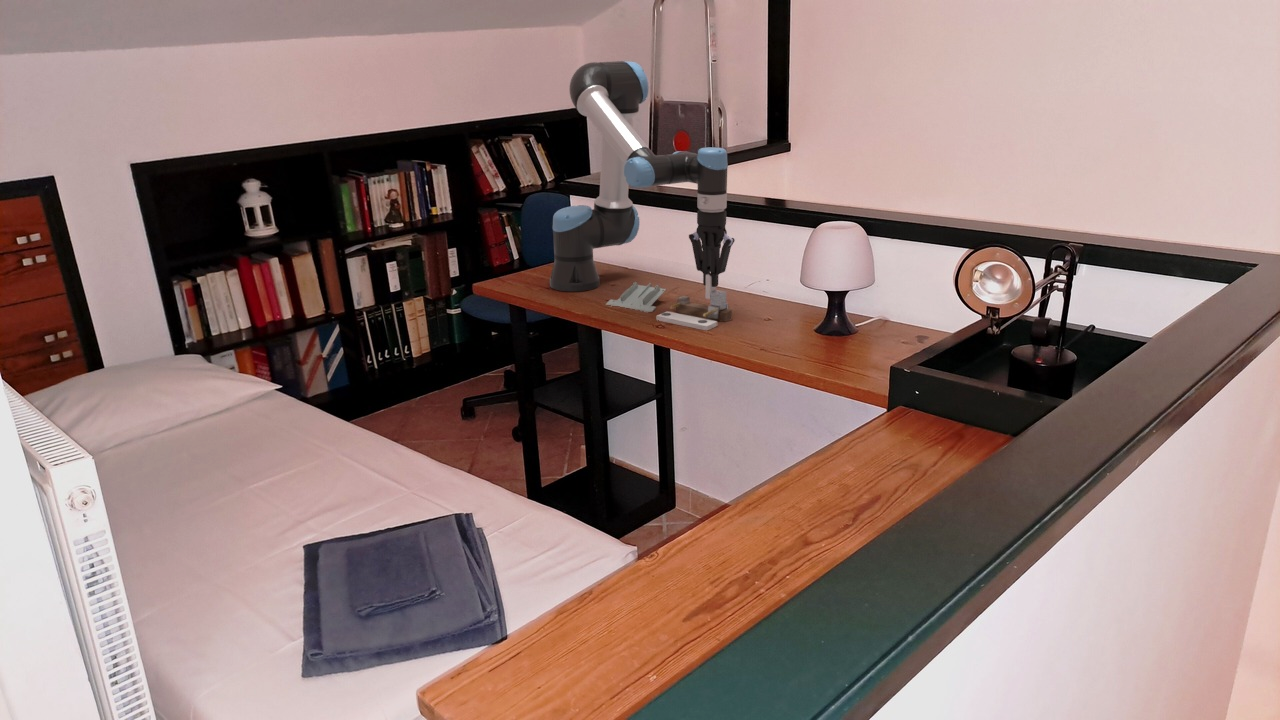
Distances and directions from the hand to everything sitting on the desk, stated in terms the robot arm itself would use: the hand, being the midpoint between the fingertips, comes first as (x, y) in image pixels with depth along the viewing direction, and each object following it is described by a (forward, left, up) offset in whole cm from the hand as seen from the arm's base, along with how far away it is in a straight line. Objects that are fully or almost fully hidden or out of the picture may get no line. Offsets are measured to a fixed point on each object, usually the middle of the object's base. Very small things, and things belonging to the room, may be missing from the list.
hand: (710, 297), depth 243 cm
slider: (+3, -2, -5) cm, 6 cm away
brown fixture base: (-2, -2, -5) cm, 6 cm away
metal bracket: (-23, 0, -6) cm, 24 cm away
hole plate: (-2, -8, -5) cm, 10 cm away
